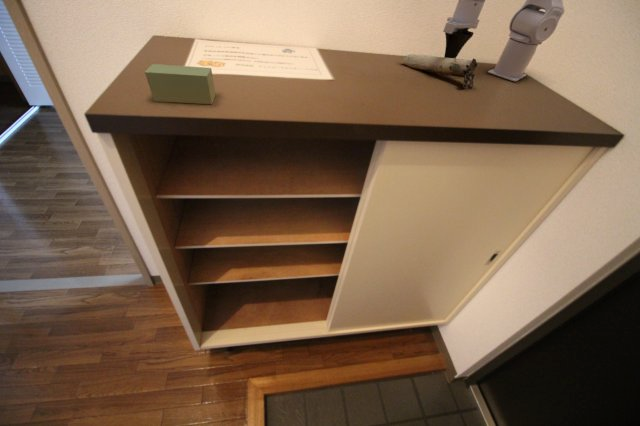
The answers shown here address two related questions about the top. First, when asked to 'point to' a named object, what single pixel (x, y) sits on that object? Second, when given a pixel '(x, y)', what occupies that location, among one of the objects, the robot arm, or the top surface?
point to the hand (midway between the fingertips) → (448, 61)
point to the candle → (444, 66)
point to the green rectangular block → (181, 84)
